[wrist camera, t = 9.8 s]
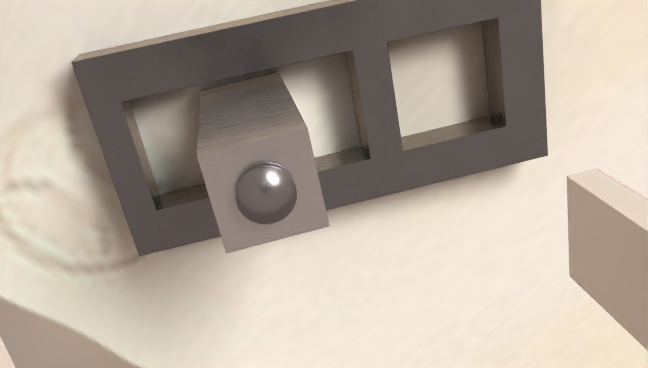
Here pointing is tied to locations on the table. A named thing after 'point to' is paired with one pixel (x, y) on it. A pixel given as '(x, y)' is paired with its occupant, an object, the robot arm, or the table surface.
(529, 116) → the grey flat frame
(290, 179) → the grey tall block
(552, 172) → the table surface
